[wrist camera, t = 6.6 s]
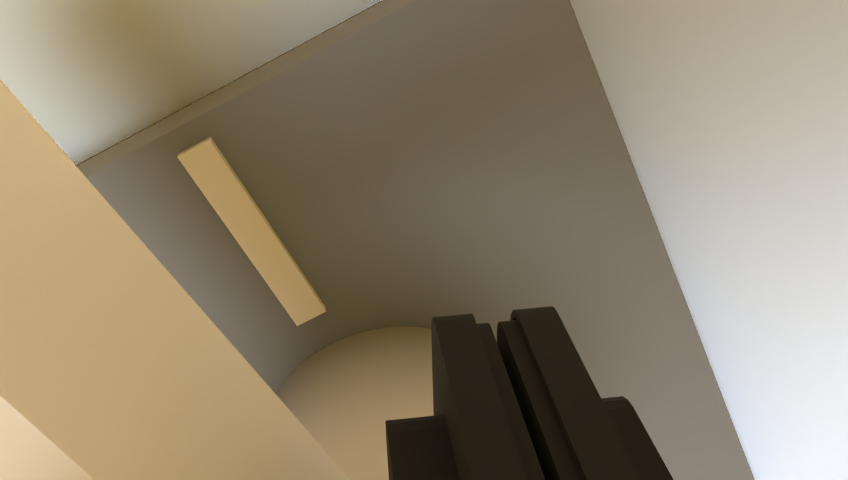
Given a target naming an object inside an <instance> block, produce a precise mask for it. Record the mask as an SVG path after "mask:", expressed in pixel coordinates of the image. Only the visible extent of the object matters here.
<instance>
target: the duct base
mask: <svg viewBox="0 0 848 480" xmlns="http://www.w3.org/2000/svg"><path fill="white" fill-rule="evenodd" d="M76 167H77V168H78V169H79V170H80V171H81V172H82V173H83V175H84V176H85V177H86V178H87V179H88V180H89V181H90V183H91V184H92V185H93V186H94V187H95V188H96V189H97V191H98V192H99V193H100V194H101V195H102V196H103V197H104V199H105V200H106V201H107V202H108V203H109V204H110V205H111V207H112V208H113V209H114V210H115V211H116V212H117V213H118V215H119V216H120V217H121V218H122V219H123V220H124V221H125V223H126V224H127V225H128V226H129V227H130V228H131V229H132V231H133V232H134V233H135V234H136V235H137V236H138V237H139V239H140V240H141V241H142V242H143V243H144V244H145V245H146V247H147V248H148V249H149V250H150V251H151V252H152V253H153V255H154V256H155V257H156V258H157V259H158V260H159V261H160V263H161V264H162V265H163V266H164V267H165V268H166V269H167V271H168V272H169V273H170V274H171V275H172V276H173V277H174V279H175V280H176V281H177V282H178V283H179V284H180V285H181V287H182V288H183V289H184V290H185V291H186V292H187V293H188V295H189V296H190V297H191V298H192V299H193V300H194V301H195V303H196V304H197V305H198V306H199V307H200V308H201V309H202V311H203V312H204V313H205V314H206V315H207V316H208V317H209V318H210V320H211V321H212V322H213V323H214V324H215V325H216V326H217V328H218V329H219V330H220V331H221V332H222V333H223V334H224V336H225V337H226V338H227V339H228V340H229V341H230V342H231V344H232V345H233V346H234V347H235V348H236V349H237V350H238V352H239V353H240V354H241V355H242V356H243V357H244V358H245V360H246V361H247V362H248V363H249V364H250V365H251V366H252V368H253V369H254V370H255V371H256V372H257V373H258V374H259V376H260V377H261V378H262V379H263V380H264V381H265V382H266V384H267V385H268V386H269V387H270V388H271V389H272V390H273V392H274V393H275V394H276V395H277V396H278V397H279V398H280V400H281V401H282V402H283V403H284V404H285V405H286V406H287V408H288V409H289V410H290V411H291V412H292V413H293V414H294V416H295V417H296V418H297V419H298V420H299V421H300V422H301V424H302V425H303V426H304V427H305V428H306V429H307V430H308V432H309V433H310V434H311V435H312V436H313V437H314V438H315V440H316V441H317V442H318V443H319V444H320V445H321V446H322V448H323V449H324V450H325V451H326V452H327V453H328V454H329V456H330V457H331V458H332V459H333V460H334V461H335V462H336V464H337V465H338V466H339V467H340V468H341V469H342V470H343V472H344V473H345V474H346V475H347V476H348V477H349V478H350V480H389V473H388V459H387V443H386V424H385V422H386V420H396V419H406V418H415V417H425V416H434V413H433V377H432V341H431V320H432V317H438V316H449V315H460V314H473V316H474V318H475V321H476V324H480V323H489V324H490V326H491V328H492V331H493V334H494V337H495V339H496V342H497V325H498V322H500V321H510V316H511V312H512V311H513V310H515V309H526V308H537V307H548V306H552V307H554V308H555V309H556V310H557V312H558V314H559V316H560V318H561V320H562V322H563V324H564V326H565V328H566V330H567V332H568V334H569V336H570V338H571V340H572V342H573V344H574V346H575V348H576V350H577V352H578V354H579V356H580V358H581V360H582V362H583V364H584V366H585V368H586V369H587V371H588V373H589V375H590V377H591V379H592V381H593V383H594V385H595V387H596V389H597V391H598V393H599V395H600V397H601V398H610V397H620V396H623V397H625V398H626V399H628V400H629V402H630V403H631V405H632V406H633V407H634V409H635V411H636V413H637V415H638V416H639V418H640V420H641V422H642V424H643V425H644V427H645V429H646V431H647V433H648V434H649V436H650V438H651V440H652V442H653V443H654V445H655V447H656V449H657V451H658V452H659V454H660V456H661V458H662V460H663V461H664V463H665V465H666V467H667V469H668V470H669V472H670V474H671V476H672V478H673V479H674V480H754V477H753V475H752V472H751V469H750V467H749V464H748V462H747V459H746V456H745V454H744V451H743V449H742V446H741V444H740V441H739V438H738V436H737V433H736V431H735V428H734V425H733V423H732V420H731V418H730V415H729V412H728V410H727V407H726V405H725V402H724V400H723V397H722V394H721V392H720V389H719V387H718V384H717V381H716V379H715V376H714V374H713V371H712V368H711V366H710V363H709V361H708V358H707V355H706V353H705V350H704V348H703V345H702V343H701V340H700V337H699V335H698V332H697V330H696V327H695V324H694V322H693V319H692V317H691V314H690V311H689V309H688V306H687V304H686V301H685V299H684V296H683V293H682V291H681V288H680V286H679V283H678V280H677V278H676V275H675V273H674V270H673V267H672V265H671V262H670V260H669V257H668V255H667V252H666V249H665V247H664V244H663V242H662V239H661V236H660V234H659V231H658V229H657V226H656V223H655V221H654V218H653V216H652V213H651V211H650V208H649V205H648V203H647V200H646V198H645V195H644V192H643V190H642V187H641V185H640V182H639V179H638V177H637V174H636V172H635V169H634V166H633V164H632V161H631V159H630V156H629V154H628V151H627V148H626V146H625V143H624V141H623V138H622V135H621V133H620V130H619V128H618V125H617V122H616V120H615V117H614V115H613V112H612V110H611V107H610V104H609V102H608V99H607V97H606V94H605V91H604V89H603V86H602V84H601V81H600V78H599V76H598V73H597V71H596V68H595V66H594V63H593V60H592V58H591V55H590V53H589V50H588V47H587V45H586V42H585V40H584V37H583V34H582V32H581V29H580V27H579V24H578V22H577V19H576V16H575V14H574V11H573V9H572V6H571V3H570V1H569V0H383V1H381V2H379V3H378V4H376V5H374V6H372V7H370V8H368V9H366V10H365V11H363V12H361V13H359V14H357V15H355V16H353V17H352V18H350V19H348V20H346V21H344V22H342V23H340V24H339V25H337V26H335V27H333V28H331V29H329V30H327V31H326V32H324V33H322V34H320V35H318V36H316V37H314V38H313V39H311V40H309V41H307V42H305V43H303V44H302V45H300V46H298V47H296V48H294V49H292V50H290V51H289V52H287V53H285V54H283V55H281V56H279V57H277V58H276V59H274V60H272V61H270V62H268V63H266V64H264V65H263V66H261V67H259V68H257V69H255V70H253V71H251V72H250V73H248V74H246V75H244V76H242V77H240V78H238V79H237V80H235V81H233V82H231V83H229V84H227V85H225V86H224V87H222V88H220V89H218V90H216V91H214V92H212V93H211V94H209V95H207V96H205V97H203V98H201V99H199V100H198V101H196V102H194V103H192V104H190V105H188V106H186V107H185V108H183V109H181V110H179V111H177V112H175V113H174V114H172V115H170V116H168V117H166V118H164V119H162V120H161V121H159V122H157V123H155V124H153V125H151V126H149V127H148V128H146V129H144V130H142V131H140V132H138V133H136V134H135V135H133V136H131V137H129V138H127V139H125V140H123V141H122V142H120V143H118V144H116V145H114V146H112V147H110V148H109V149H107V150H105V151H103V152H101V153H99V154H97V155H96V156H94V157H92V158H90V159H88V160H86V161H84V162H83V163H81V164H79V165H77V166H76Z"/></svg>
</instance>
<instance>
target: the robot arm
mask: <svg viewBox="0 0 848 480" xmlns="http://www.w3.org/2000/svg"><path fill="white" fill-rule="evenodd" d="M431 341H432V377H433V413H434V416H425V417H415V418H406V419H396V420H386V422H385V424H386V443H387V459H388V473H389V480H674V479H673V478H672V476H671V474H670V472H669V470H668V469H667V467H666V465H665V463H664V461H663V460H662V458H661V456H660V454H659V452H658V451H657V449H656V447H655V445H654V443H653V442H652V440H651V438H650V436H649V434H648V433H647V431H646V429H645V427H644V425H643V424H642V422H641V420H640V418H639V416H638V415H637V413H636V411H635V409H634V407H633V406H632V405H631V403H630V402H629V400H628V399H626V398H625V397H623V396H620V397H610V398H601V397H600V395H599V393H598V391H597V389H596V387H595V385H594V383H593V381H592V379H591V377H590V375H589V373H588V371H587V369H586V368H585V366H584V364H583V362H582V360H581V358H580V356H579V354H578V352H577V350H576V348H575V346H574V344H573V342H572V340H571V338H570V336H569V334H568V332H567V330H566V328H565V326H564V324H563V322H562V320H561V318H560V316H559V314H558V312H557V310H556V309H555V308H554V307H552V306H548V307H537V308H526V309H515V310H513V311H512V312H511V316H510V321H500V322H498V325H497V342H496V339H495V337H494V334H493V331H492V328H491V326H490V324H489V323H480V324H476V321H475V318H474V316H473V314H460V315H449V316H438V317H432V320H431Z"/></svg>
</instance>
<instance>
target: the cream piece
mask: <svg viewBox="0 0 848 480" xmlns="http://www.w3.org/2000/svg"><path fill="white" fill-rule="evenodd" d="M0 480H350V478H349V477H348V476H347V475H346V474H345V473H344V472H343V470H342V469H341V468H340V467H339V466H338V465H337V464H336V462H335V461H334V460H333V459H332V458H331V457H330V456H329V454H328V453H327V452H326V451H325V450H324V449H323V448H322V446H321V445H320V444H319V443H318V442H317V441H316V440H315V438H314V437H313V436H312V435H311V434H310V433H309V432H308V430H307V429H306V428H305V427H304V426H303V425H302V424H301V422H300V421H299V420H298V419H297V418H296V417H295V416H294V414H293V413H292V412H291V411H290V410H289V409H288V408H287V406H286V405H285V404H284V403H283V402H282V401H281V400H280V398H279V397H278V396H277V395H276V394H275V393H274V392H273V390H272V389H271V388H270V387H269V386H268V385H267V384H266V382H265V381H264V380H263V379H262V378H261V377H260V376H259V374H258V373H257V372H256V371H255V370H254V369H253V368H252V366H251V365H250V364H249V363H248V362H247V361H246V360H245V358H244V357H243V356H242V355H241V354H240V353H239V352H238V350H237V349H236V348H235V347H234V346H233V345H232V344H231V342H230V341H229V340H228V339H227V338H226V337H225V336H224V334H223V333H222V332H221V331H220V330H219V329H218V328H217V326H216V325H215V324H214V323H213V322H212V321H211V320H210V318H209V317H208V316H207V315H206V314H205V313H204V312H203V311H202V309H201V308H200V307H199V306H198V305H197V304H196V303H195V301H194V300H193V299H192V298H191V297H190V296H189V295H188V293H187V292H186V291H185V290H184V289H183V288H182V287H181V285H180V284H179V283H178V282H177V281H176V280H175V279H174V277H173V276H172V275H171V274H170V273H169V272H168V271H167V269H166V268H165V267H164V266H163V265H162V264H161V263H160V261H159V260H158V259H157V258H156V257H155V256H154V255H153V253H152V252H151V251H150V250H149V249H148V248H147V247H146V245H145V244H144V243H143V242H142V241H141V240H140V239H139V237H138V236H137V235H136V234H135V233H134V232H133V231H132V229H131V228H130V227H129V226H128V225H127V224H126V223H125V221H124V220H123V219H122V218H121V217H120V216H119V215H118V213H117V212H116V211H115V210H114V209H113V208H112V207H111V205H110V204H109V203H108V202H107V201H106V200H105V199H104V197H103V196H102V195H101V194H100V193H99V192H98V191H97V189H96V188H95V187H94V186H93V185H92V184H91V183H90V181H89V180H88V179H87V178H86V177H85V176H84V175H83V173H82V172H81V171H80V170H79V169H78V168H77V167H76V165H75V164H74V163H73V162H72V161H71V160H70V159H69V157H68V156H67V155H66V154H65V153H64V152H63V151H62V149H61V148H60V147H59V146H58V145H57V144H56V143H55V141H54V140H53V139H52V138H51V137H50V136H49V135H48V133H47V132H46V131H45V130H44V129H43V128H42V127H41V125H40V124H39V123H38V122H37V121H36V120H35V119H34V117H33V116H32V115H31V114H30V113H29V112H28V111H27V109H26V108H25V107H24V106H23V105H22V104H21V103H20V101H19V100H18V99H17V98H16V97H15V96H14V95H13V93H12V92H11V91H10V90H9V89H8V88H7V87H6V85H5V84H4V83H3V82H2V81H1V80H0Z"/></svg>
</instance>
